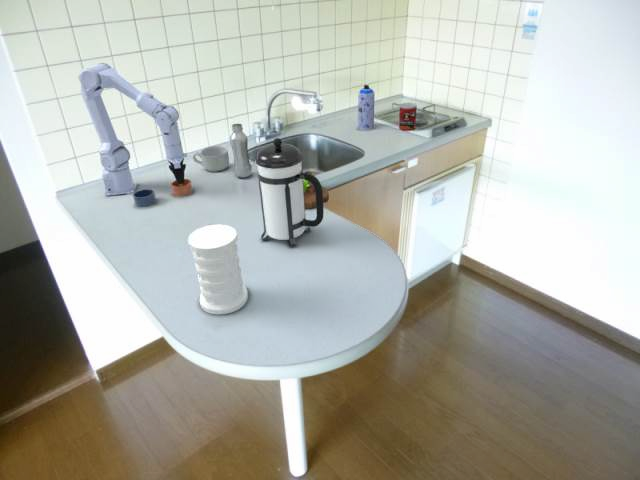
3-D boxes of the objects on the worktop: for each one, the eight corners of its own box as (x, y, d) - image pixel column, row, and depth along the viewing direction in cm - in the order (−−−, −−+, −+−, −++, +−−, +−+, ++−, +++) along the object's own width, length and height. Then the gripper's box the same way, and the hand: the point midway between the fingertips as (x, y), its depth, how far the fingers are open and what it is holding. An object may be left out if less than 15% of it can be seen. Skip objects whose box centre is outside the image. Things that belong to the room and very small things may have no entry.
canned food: (397, 130, 218) (398, 107, 213) (400, 125, 225) (401, 102, 219) (414, 131, 216) (415, 107, 211) (416, 126, 223) (417, 103, 217)
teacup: (233, 164, 190) (231, 145, 186) (226, 174, 181) (223, 155, 177) (200, 164, 192) (197, 145, 188) (192, 174, 183) (188, 155, 178)
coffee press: (266, 254, 131) (254, 152, 115) (257, 227, 144) (245, 133, 128) (325, 243, 134) (321, 143, 119) (311, 218, 148) (306, 125, 132)
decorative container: (250, 283, 119) (241, 222, 110) (245, 313, 109) (235, 248, 100) (204, 286, 119) (192, 224, 110) (196, 315, 109) (181, 251, 100)
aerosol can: (355, 126, 226) (355, 84, 215) (370, 124, 227) (371, 82, 217) (361, 131, 219) (361, 88, 209) (376, 129, 221) (377, 86, 211)
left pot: (134, 209, 158) (131, 198, 156) (137, 200, 164) (134, 190, 162) (155, 207, 159) (152, 196, 157) (158, 198, 165) (155, 188, 163)
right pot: (172, 198, 165) (169, 187, 163) (174, 190, 171) (172, 179, 169) (192, 196, 166) (190, 185, 164) (193, 188, 172) (191, 178, 170)
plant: (262, 192, 166) (259, 162, 160) (314, 182, 172) (312, 153, 166) (278, 216, 150) (275, 184, 144) (334, 204, 156) (333, 173, 150)
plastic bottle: (249, 179, 176) (242, 128, 166) (232, 179, 177) (224, 127, 167) (254, 173, 181) (248, 122, 171) (238, 172, 183) (231, 122, 172)
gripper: (186, 148, 154) (193, 186, 161) (182, 135, 166) (189, 171, 173) (164, 151, 152) (172, 189, 159) (162, 138, 164) (170, 174, 171)
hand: (180, 180), depth 166 cm, fingers open, 5 cm apart
